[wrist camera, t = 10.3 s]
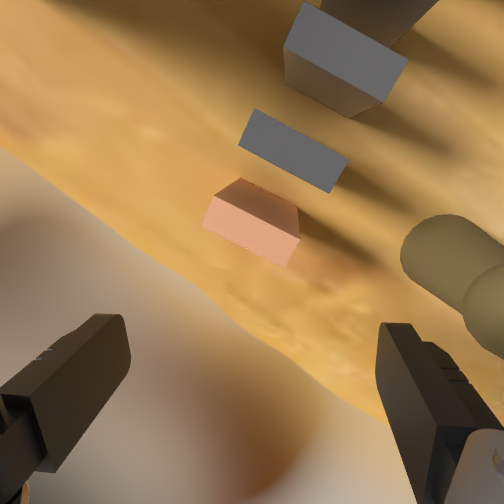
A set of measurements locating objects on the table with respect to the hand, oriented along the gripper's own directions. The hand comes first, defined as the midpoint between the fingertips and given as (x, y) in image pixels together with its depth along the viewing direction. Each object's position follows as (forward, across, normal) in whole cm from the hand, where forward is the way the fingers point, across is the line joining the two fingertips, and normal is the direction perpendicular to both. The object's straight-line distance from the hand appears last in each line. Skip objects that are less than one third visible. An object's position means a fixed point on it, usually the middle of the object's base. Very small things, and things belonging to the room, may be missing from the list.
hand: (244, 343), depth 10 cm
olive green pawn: (+17, -13, +3) cm, 21 cm away
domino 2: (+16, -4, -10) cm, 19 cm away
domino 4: (+16, +1, -2) cm, 16 cm away
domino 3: (+16, -1, -6) cm, 17 cm away
